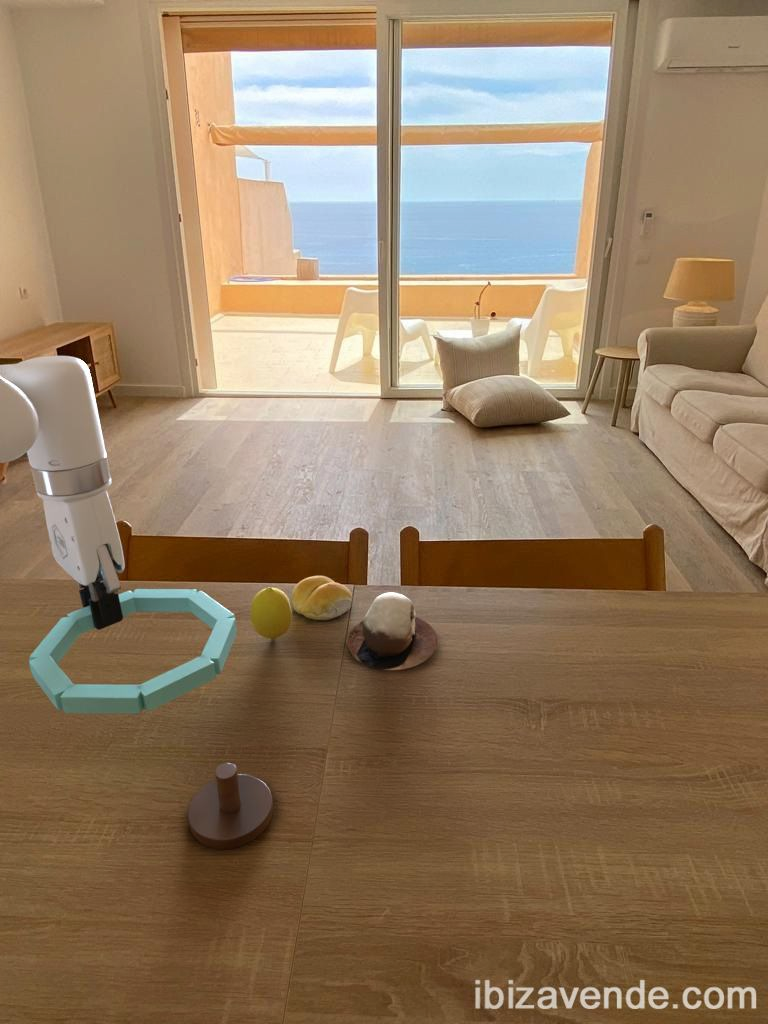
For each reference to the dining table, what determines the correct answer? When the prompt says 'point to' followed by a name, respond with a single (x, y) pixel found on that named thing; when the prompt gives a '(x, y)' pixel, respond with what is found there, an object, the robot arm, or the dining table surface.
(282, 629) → the lemon
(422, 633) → the iced cupcake on saucer
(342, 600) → the bread roll
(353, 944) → the dining table surface
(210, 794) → the post
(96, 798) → the dining table surface
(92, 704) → the ring
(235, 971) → the dining table surface
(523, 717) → the dining table surface
